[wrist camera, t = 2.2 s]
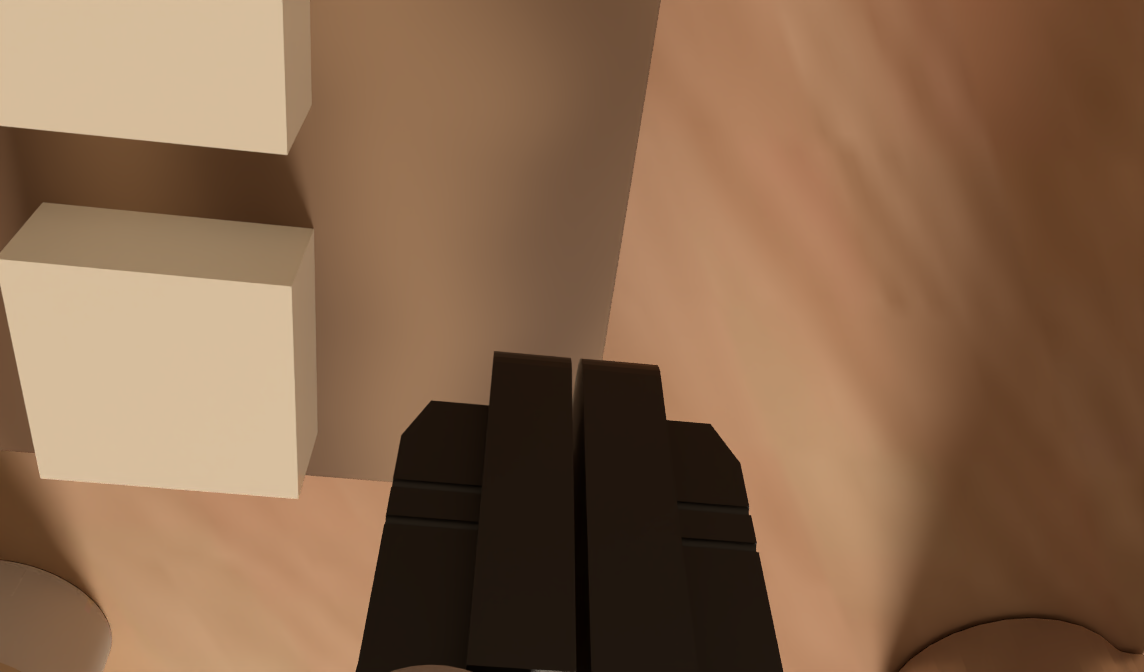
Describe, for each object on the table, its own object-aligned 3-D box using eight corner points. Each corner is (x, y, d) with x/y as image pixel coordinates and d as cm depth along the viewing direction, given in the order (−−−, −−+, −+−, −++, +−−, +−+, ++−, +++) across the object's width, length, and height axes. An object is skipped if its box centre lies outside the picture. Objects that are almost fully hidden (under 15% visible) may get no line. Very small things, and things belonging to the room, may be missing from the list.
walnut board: (676, -277, 24) (700, -249, 20) (577, 386, 34) (580, 497, 30) (-91, -379, 22) (-238, -372, 18) (44, 338, 33) (-32, 447, 28)
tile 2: (314, 228, 25) (291, 286, 23) (317, 432, 28) (298, 498, 26) (42, 202, 24) (-5, 258, 22) (78, 412, 28) (40, 478, 26)
